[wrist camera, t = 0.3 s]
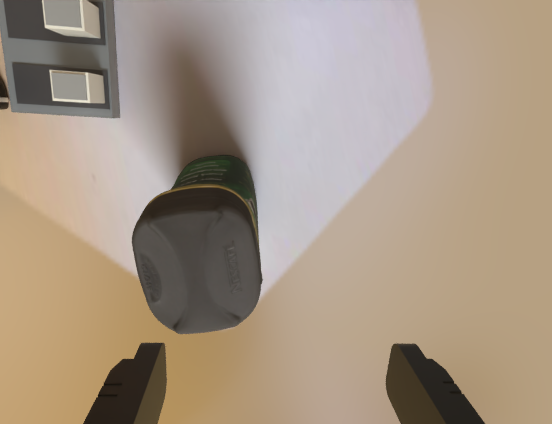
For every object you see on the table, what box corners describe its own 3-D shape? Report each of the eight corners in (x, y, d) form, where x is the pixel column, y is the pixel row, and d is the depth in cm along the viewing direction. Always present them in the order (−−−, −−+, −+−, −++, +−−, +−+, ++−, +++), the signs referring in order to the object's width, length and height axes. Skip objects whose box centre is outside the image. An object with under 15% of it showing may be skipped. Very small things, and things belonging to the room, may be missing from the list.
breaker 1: (62, 4, 30) (39, -8, 27) (98, 8, 31) (80, -4, 27) (65, 35, 31) (43, 27, 28) (100, 38, 31) (83, 30, 28)
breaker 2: (68, 73, 32) (48, 69, 29) (103, 75, 32) (86, 72, 29) (71, 101, 33) (51, 100, 29) (105, 103, 33) (89, 103, 30)
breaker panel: (6, -30, 31) (-11, -39, 29) (112, -20, 32) (102, -29, 30) (24, 111, 35) (10, 112, 33) (120, 117, 35) (111, 118, 33)
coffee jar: (173, 160, 37) (105, 209, 19) (249, 149, 37) (249, 188, 20) (191, 245, 40) (146, 356, 22) (261, 235, 40) (272, 337, 22)
